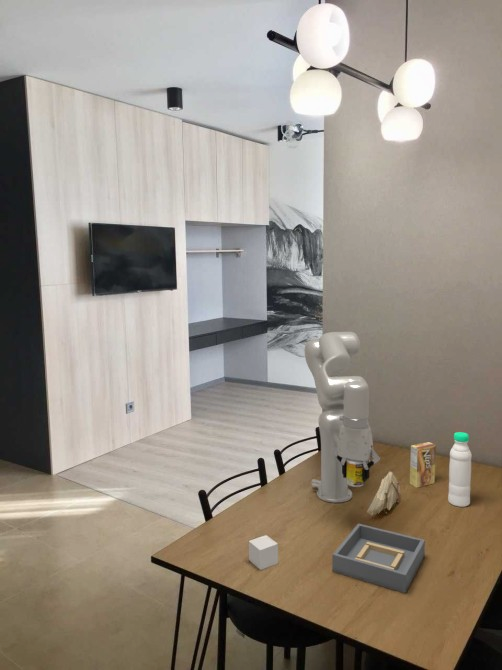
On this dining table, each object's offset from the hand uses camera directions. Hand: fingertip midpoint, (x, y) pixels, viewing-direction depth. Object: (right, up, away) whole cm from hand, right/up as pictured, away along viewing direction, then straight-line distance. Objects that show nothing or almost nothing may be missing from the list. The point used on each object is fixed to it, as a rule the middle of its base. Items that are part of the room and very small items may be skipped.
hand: (355, 477), depth 170 cm
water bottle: (+40, -14, +20) cm, 47 cm away
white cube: (-29, -21, -14) cm, 38 cm away
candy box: (+32, -12, +36) cm, 50 cm away
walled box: (+4, -20, -16) cm, 26 cm away
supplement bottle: (0, -2, 0) cm, 2 cm away
